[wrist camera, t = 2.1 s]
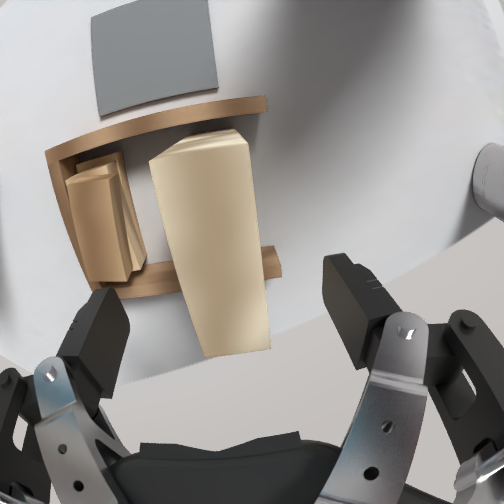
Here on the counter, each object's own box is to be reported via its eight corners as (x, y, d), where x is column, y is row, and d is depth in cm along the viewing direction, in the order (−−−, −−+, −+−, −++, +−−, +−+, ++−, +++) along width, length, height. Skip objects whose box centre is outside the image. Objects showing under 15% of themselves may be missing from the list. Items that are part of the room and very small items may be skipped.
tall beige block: (233, 127, 20) (248, 143, 9) (248, 239, 25) (271, 348, 14) (190, 134, 20) (148, 161, 9) (210, 244, 25) (205, 357, 14)
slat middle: (115, 160, 19) (106, 165, 17) (145, 257, 23) (140, 269, 22) (76, 174, 19) (65, 180, 17) (108, 265, 23) (101, 277, 21)
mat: (206, -13, 14) (205, -15, 13) (218, 87, 18) (218, 87, 18) (92, 18, 13) (90, 17, 13) (101, 116, 18) (99, 116, 18)
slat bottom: (124, 149, 20) (116, 153, 19) (148, 251, 25) (143, 262, 23) (85, 160, 20) (75, 165, 18) (112, 257, 25) (106, 267, 23)
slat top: (118, 172, 18) (108, 179, 16) (133, 267, 21) (127, 281, 20) (79, 177, 17) (66, 184, 15) (97, 268, 21) (89, 281, 19)
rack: (258, 98, 19) (265, 95, 16) (274, 256, 26) (281, 277, 23) (65, 144, 19) (44, 151, 15) (108, 281, 26) (97, 301, 22)
